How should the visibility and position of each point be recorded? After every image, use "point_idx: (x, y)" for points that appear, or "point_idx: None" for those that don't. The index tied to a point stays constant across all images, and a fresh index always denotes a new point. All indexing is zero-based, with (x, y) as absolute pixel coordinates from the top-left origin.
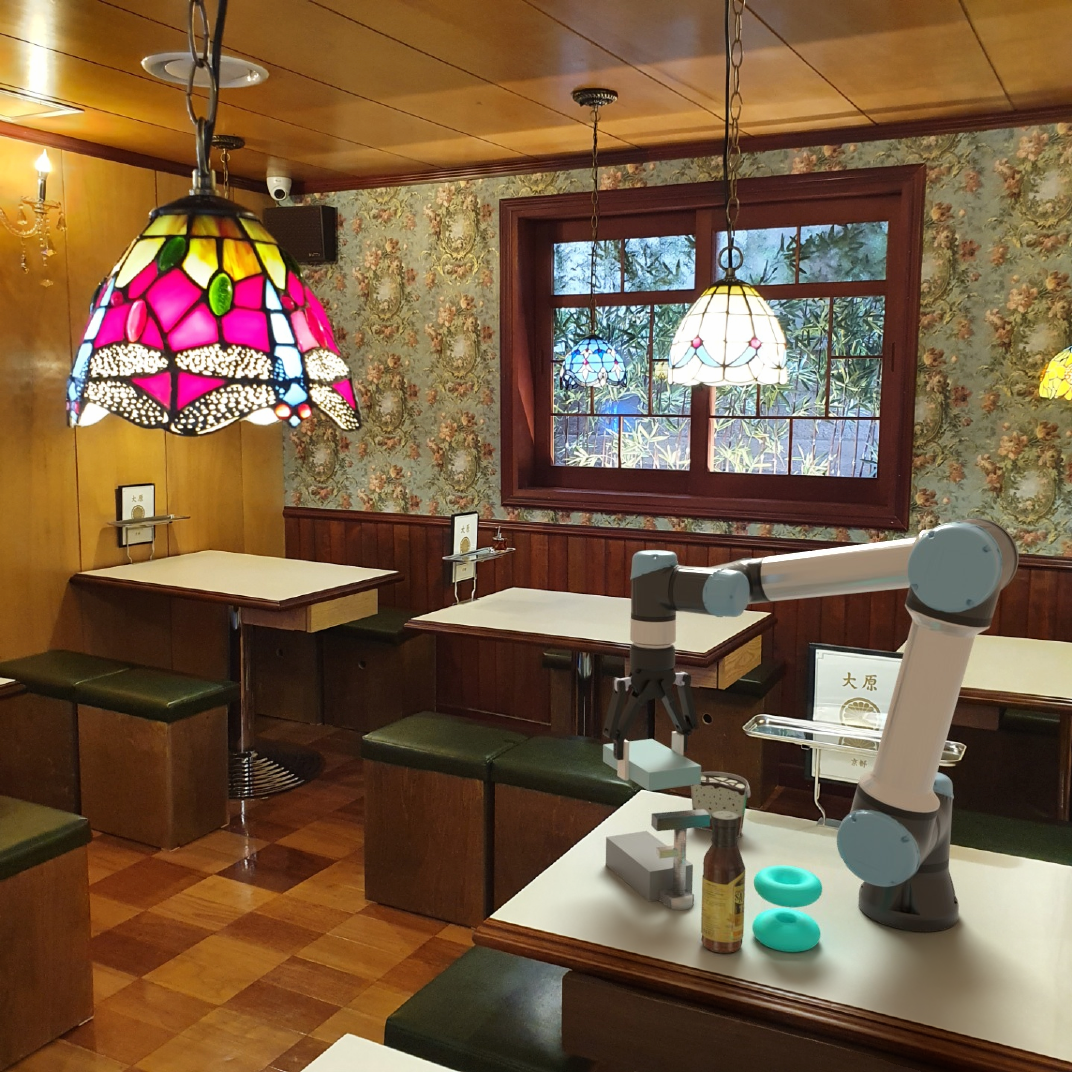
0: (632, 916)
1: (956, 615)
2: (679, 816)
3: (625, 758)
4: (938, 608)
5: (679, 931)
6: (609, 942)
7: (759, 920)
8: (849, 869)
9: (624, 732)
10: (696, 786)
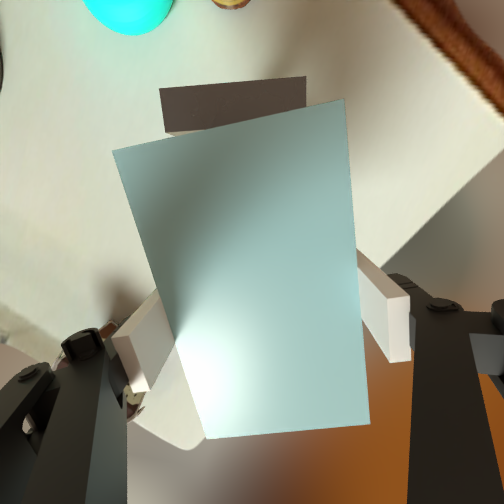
0: None
1: None
2: (242, 85)
3: (375, 267)
4: None
5: (276, 41)
6: (390, 20)
7: None
8: None
9: (444, 325)
10: (132, 400)
